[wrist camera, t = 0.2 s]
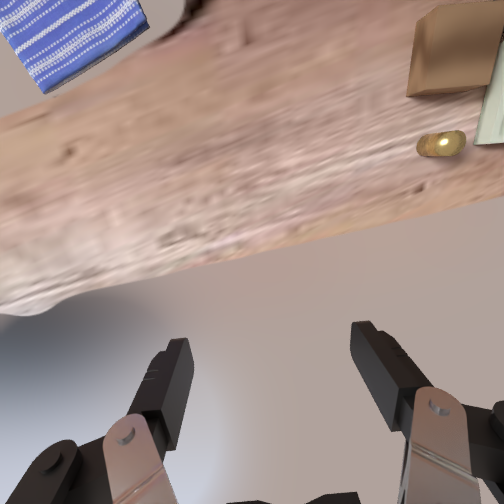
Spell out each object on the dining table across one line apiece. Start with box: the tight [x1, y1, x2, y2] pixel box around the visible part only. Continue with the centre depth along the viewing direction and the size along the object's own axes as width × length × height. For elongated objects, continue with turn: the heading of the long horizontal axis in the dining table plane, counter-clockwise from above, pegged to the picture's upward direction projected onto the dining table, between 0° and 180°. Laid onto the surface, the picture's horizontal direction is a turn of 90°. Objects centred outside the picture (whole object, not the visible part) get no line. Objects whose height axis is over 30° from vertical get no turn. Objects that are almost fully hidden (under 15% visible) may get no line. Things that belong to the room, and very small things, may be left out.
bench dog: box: [417, 130, 466, 156], centre depth 33 cm, size 3×3×5 cm
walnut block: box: [406, 0, 504, 97], centre depth 30 cm, size 8×8×4 cm
